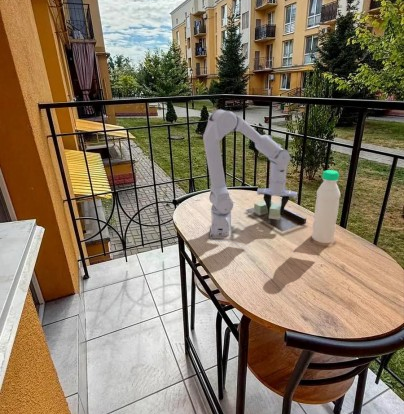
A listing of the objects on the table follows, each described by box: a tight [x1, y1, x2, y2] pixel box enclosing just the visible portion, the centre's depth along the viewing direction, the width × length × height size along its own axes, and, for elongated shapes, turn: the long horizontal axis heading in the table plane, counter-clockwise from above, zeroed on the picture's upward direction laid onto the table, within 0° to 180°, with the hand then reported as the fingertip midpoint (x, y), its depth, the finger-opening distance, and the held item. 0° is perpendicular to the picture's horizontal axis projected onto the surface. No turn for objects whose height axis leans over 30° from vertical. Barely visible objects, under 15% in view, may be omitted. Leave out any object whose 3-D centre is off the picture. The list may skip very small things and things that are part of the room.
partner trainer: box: [253, 200, 273, 216], centre depth 116 cm, size 9×4×4 cm, turn 118°
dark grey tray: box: [245, 207, 307, 232], centre depth 112 cm, size 12×22×4 cm, turn 28°
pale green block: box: [269, 201, 281, 220], centre depth 109 cm, size 9×4×4 cm, turn 158°
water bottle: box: [311, 169, 341, 245], centre depth 92 cm, size 7×7×25 cm
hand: (275, 213), depth 109 cm, fingers closed on pale green block, 4 cm apart
